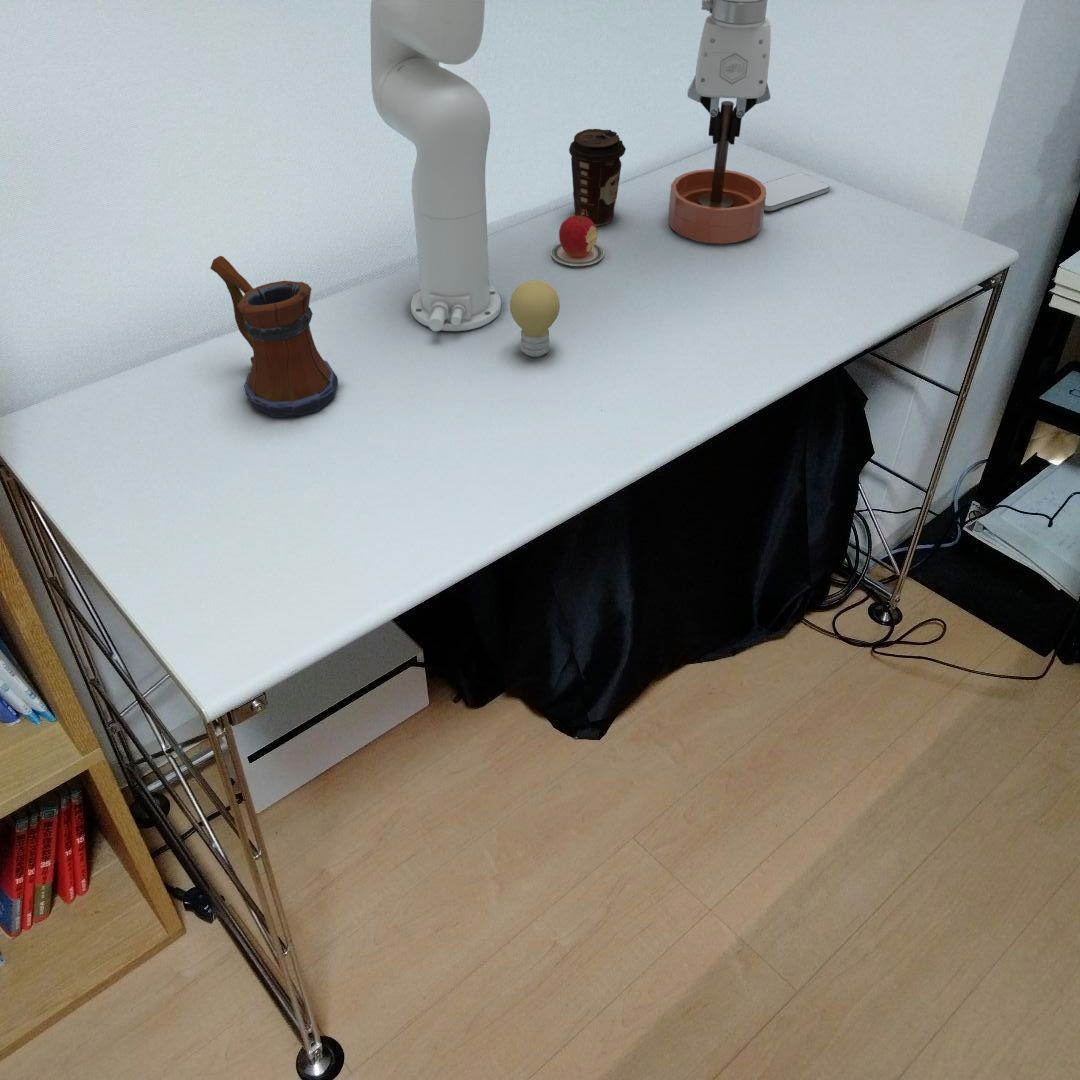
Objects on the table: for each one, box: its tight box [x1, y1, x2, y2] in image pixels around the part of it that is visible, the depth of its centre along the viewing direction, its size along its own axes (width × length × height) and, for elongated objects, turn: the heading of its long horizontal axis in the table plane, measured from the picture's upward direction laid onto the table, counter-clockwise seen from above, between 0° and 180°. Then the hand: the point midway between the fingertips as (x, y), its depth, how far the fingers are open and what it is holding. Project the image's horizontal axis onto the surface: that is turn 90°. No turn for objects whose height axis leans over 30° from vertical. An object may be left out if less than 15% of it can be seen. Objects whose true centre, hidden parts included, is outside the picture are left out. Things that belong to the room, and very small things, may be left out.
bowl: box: [667, 168, 766, 245], centre depth 162 cm, size 15×15×6 cm
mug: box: [210, 255, 339, 418], centre depth 127 cm, size 18×12×15 cm, turn 45°
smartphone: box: [762, 172, 830, 212], centre depth 172 cm, size 7×1×15 cm
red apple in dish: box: [550, 212, 605, 267], centre depth 155 cm, size 8×8×6 cm
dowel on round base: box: [698, 100, 735, 208], centre depth 159 cm, size 6×6×17 cm
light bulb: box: [509, 279, 561, 358], centre depth 134 cm, size 6×6×10 cm
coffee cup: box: [568, 128, 627, 227], centre depth 162 cm, size 9×8×13 cm
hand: (723, 139), depth 157 cm, fingers closed on dowel on round base
